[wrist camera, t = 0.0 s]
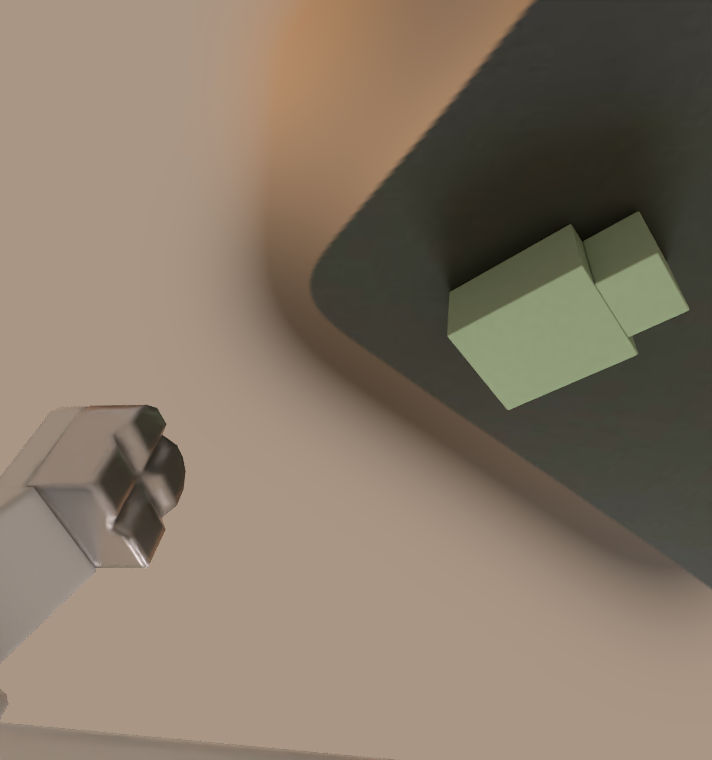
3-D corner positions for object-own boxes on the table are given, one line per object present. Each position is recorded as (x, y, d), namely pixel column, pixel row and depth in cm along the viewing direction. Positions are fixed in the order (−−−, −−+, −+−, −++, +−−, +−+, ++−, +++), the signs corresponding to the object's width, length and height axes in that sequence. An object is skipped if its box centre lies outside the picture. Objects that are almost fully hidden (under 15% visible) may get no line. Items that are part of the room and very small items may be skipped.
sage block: (449, 291, 29) (446, 336, 26) (627, 191, 24) (646, 231, 22) (504, 363, 31) (507, 410, 28) (677, 281, 27) (699, 328, 24)
